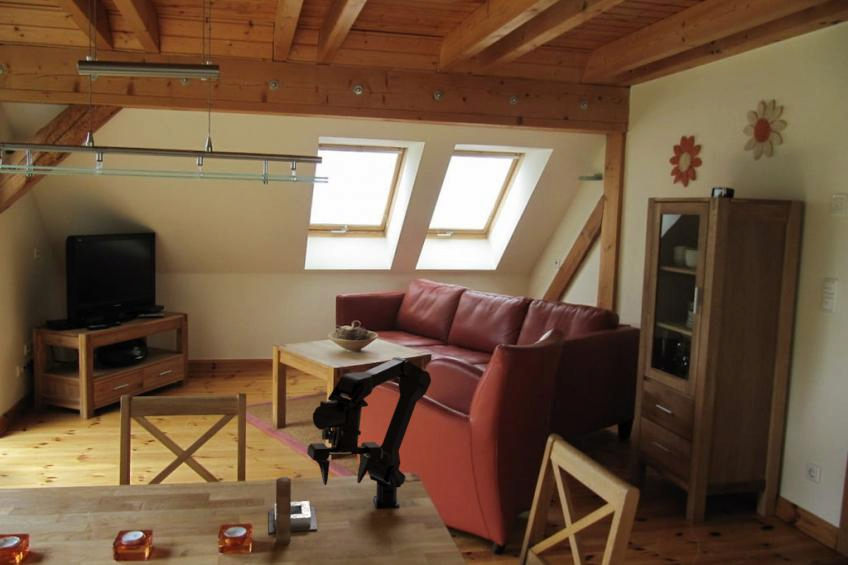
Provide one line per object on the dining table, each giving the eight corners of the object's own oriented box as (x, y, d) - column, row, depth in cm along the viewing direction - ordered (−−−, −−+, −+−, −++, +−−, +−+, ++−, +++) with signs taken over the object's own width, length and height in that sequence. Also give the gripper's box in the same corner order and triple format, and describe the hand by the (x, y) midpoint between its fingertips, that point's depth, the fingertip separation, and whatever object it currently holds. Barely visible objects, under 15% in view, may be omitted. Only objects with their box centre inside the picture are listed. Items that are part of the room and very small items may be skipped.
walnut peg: (275, 538, 175) (276, 477, 172) (290, 537, 176) (290, 476, 173) (276, 545, 171) (276, 483, 169) (290, 544, 172) (291, 482, 170)
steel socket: (268, 511, 188) (268, 500, 188) (314, 508, 191) (314, 498, 190) (268, 534, 177) (268, 522, 176) (316, 530, 179) (317, 519, 179)
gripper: (370, 415, 191) (364, 471, 192) (304, 415, 183) (297, 474, 184) (386, 427, 181) (379, 486, 182) (317, 428, 173) (310, 490, 174)
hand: (341, 483), depth 181 cm, fingers open, 9 cm apart
